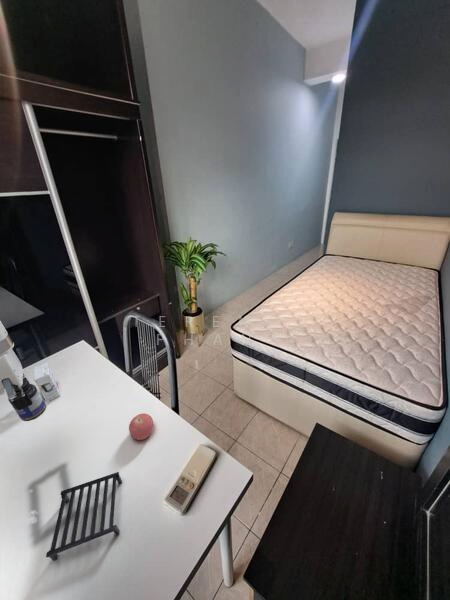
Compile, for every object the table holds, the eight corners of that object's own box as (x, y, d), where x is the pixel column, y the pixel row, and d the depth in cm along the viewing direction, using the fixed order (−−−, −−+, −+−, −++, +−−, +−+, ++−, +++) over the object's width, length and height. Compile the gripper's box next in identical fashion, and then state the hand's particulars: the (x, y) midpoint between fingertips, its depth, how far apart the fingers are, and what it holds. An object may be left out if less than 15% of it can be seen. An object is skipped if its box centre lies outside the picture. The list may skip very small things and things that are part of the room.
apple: (134, 449, 77) (127, 433, 73) (131, 429, 83) (125, 414, 79) (157, 438, 80) (152, 422, 76) (153, 420, 85) (148, 404, 82)
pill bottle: (16, 418, 68) (-4, 391, 63) (37, 401, 73) (20, 374, 68) (31, 424, 67) (12, 396, 61) (52, 406, 72) (36, 378, 66)
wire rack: (54, 565, 55) (45, 556, 52) (68, 500, 66) (61, 491, 63) (120, 538, 58) (115, 529, 56) (123, 481, 69) (118, 471, 67)
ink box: (44, 389, 101) (31, 367, 95) (58, 383, 103) (47, 361, 98) (46, 403, 94) (33, 380, 89) (61, 396, 97) (49, 374, 91)
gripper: (-25, 336, 63) (9, 386, 71) (-35, 374, 50) (7, 429, 59) (12, 325, 67) (39, 373, 75) (10, 358, 54) (43, 412, 63)
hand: (25, 397), depth 67 cm, fingers closed on pill bottle, 6 cm apart
